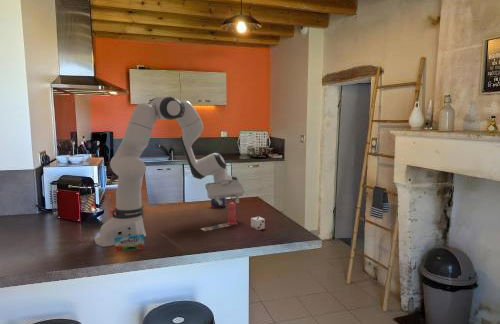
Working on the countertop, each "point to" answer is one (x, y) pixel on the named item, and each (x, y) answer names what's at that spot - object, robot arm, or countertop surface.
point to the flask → (216, 204)
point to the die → (258, 223)
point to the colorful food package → (129, 242)
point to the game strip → (215, 227)
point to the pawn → (231, 214)
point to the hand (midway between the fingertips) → (229, 203)
